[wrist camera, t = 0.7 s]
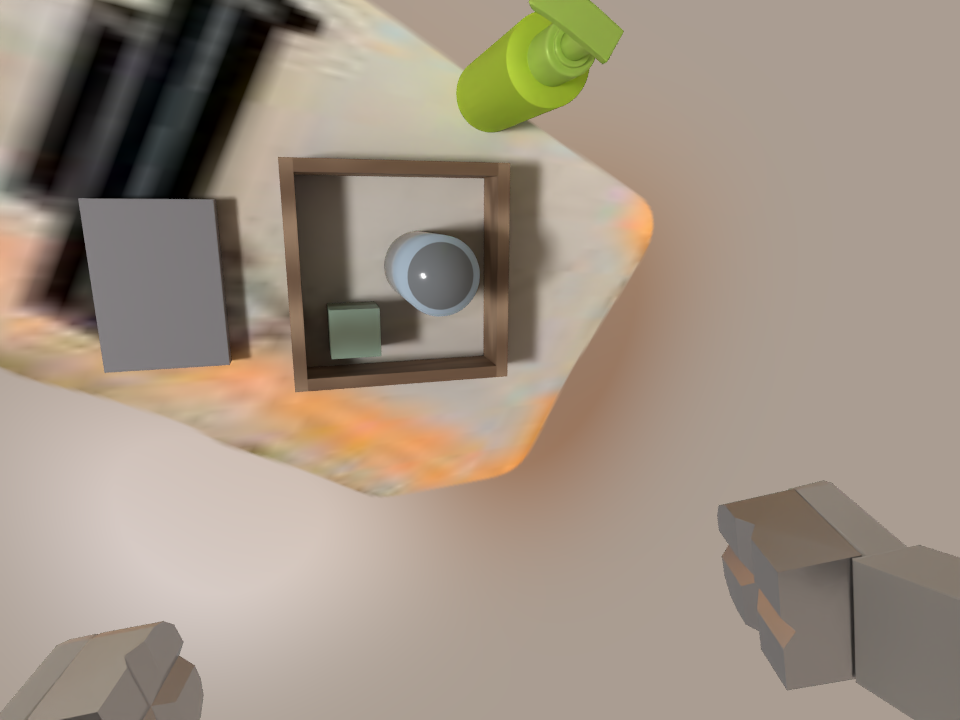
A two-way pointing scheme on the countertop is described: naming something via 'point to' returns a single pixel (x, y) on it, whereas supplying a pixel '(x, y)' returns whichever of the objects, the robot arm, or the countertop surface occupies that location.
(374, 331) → the block
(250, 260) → the countertop surface
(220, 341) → the board
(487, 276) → the crate
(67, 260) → the countertop surface
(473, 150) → the countertop surface
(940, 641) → the robot arm
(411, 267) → the cup
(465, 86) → the soap dispenser
